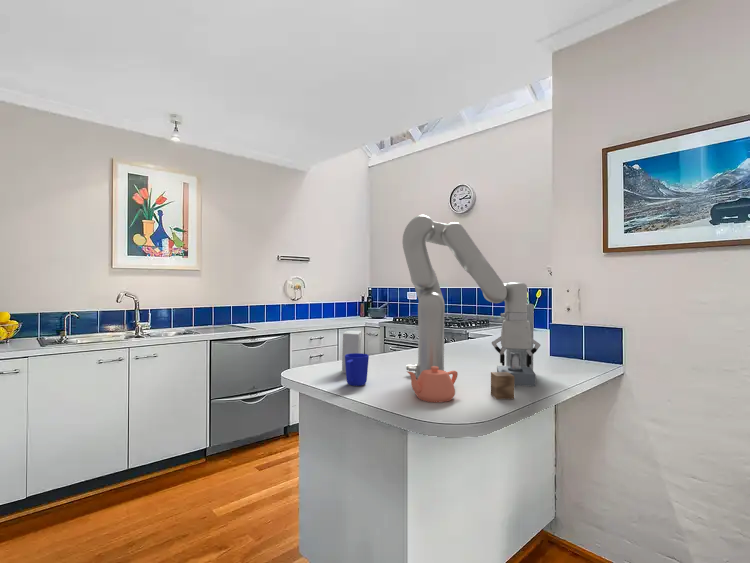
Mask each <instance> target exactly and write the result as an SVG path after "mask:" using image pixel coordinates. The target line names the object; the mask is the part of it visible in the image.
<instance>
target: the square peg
mask: <svg viewBox="0 0 750 563" xmlns="http://www.w3.org/2000/svg"><path fill="white" fill-rule="evenodd" d="M490 395H491V396H492V397H493V398H495V399H496V400H515V385H514V376H513V375H512V374H510V373H509V372H497V371H491V372H490Z"/></svg>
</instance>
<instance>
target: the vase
mask: <svg viewBox="0 0 750 563" xmlns="http://www.w3.org/2000/svg"><path fill="white" fill-rule="evenodd" d="M534 307H535V306H534V304H533V303H527V321H529V323H530V328H531V338H532V339H534V323H535V322H534V320H535V318H534V315H535V314H534V309H535V308H534ZM533 348H534V344H533V343H532V342H531V348H530V351H531V350H532V349H533ZM505 352H506V354H505V355H506V356H505V357H506V358H505V362H506V364H505V366H510V353H520V354H521V366H520V367H527V366H526V355H527V351H526V350H520V349H506V350H505ZM530 368H532V370H533V371H534V354H533V355H532V356H531V365H530Z"/></svg>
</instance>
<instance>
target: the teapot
mask: <svg viewBox="0 0 750 563" xmlns="http://www.w3.org/2000/svg"><path fill="white" fill-rule="evenodd" d="M438 369H439V367H437V366H432V367H431V369H429V370H423V371H422V372H421V374H420V375H419V377H418V379H417V378H416V376H415V374H414V373H415V372H414V371H409V370H407V371H406V372H407V373H408V374H409V376H410V384H411V389H412V390H413V391H414V394H415V395H416V397H417V398H418V399H419V400H421V401H423V402H428V403H446V402H450V401H451V400H452V399H454V397H455V395H456V389H455V388H456V387H455V383H456V382H457V379H458V375H459V374H458V371H456V370H451V371H450V370H449V371H446V370H444V371H443V370H438ZM450 375H452V377H451V376H450Z"/></svg>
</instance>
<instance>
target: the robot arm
mask: <svg viewBox="0 0 750 563" xmlns="http://www.w3.org/2000/svg"><path fill="white" fill-rule="evenodd" d="M426 243H430V244H435V245H439V246H443V247H444V246H445V247H448V248H449V250H450V251H451V253H452V254H453V256H454V257H455V258H456V261H457V262H458V263H459V265H460V267H462V269H463V270H464V271H466V272H467V273H468V274H469V275H470V276H471V278H472V279H473V280H474V281H475V283H476V285H478V288H479V289H480V290H481V292H482V295H483V297H484V299H485V300H486V301H488V303H489V302H490V303H493V304H500V303H503V302H504V312H503V313H502V312H501V313H500V318H503V319H504V320H502V325H501V330H500V336H499V337H497V338H495V339H494V340H493V341H492V342H491V345H492V346H493V348H494V349H495V351H496V352H497V353H499V363H500V364H501V366H506V364H505V362H506V358H505V357H506V356H505V355H506V354H505V352H506V349H520V350H526V351H527V355H526V366H527V367H530V365H531V356H532V355H533V356H534V354H535V353H536V352H537V351H538V350H539V348H540V347H541V343H539V342H538V341H537V340H535V339H534V338H533V339H532V338H531V328H530V323H529V321H527V304H528V286H527V284H526V283H524V282H508V283H507V282H506V283H504V282H503V281H502V279H501V277H500V276H499V275H498V274H497V271H495V269H494V268H493V267H492V266H491V264H490V263H489V261H488V260H487V258H486V257H485V256H484V254H483V253H482V252H481V250H480V248H478V246H477V245H476V243H475V242H474V240H473V239H472V238H471V236H470V235H469V233H468V231H467V230H466V229H465V227H464V226H463V225H462V224H461V223H459V222H455V221H454V222H453V221H452V222H449V223H448V224H447V223H444V222H437V221H434V220H433V219H432V218H431V217H430V216H428V215H425V214H419V215H417V216H414V217H413V218H412V219H411V220H410V221H409V222H408V223H407V224H406V227H405V228H404V231H403V234H402V248H403V254H404V256H405V257H404V258H405V260H406V265H407V268H408V271H409V276H410V281H411V283H412V285H413V287H414V289H415V294H416V295H417V299H418V304H417V318H418V319H417V321H418V324H417V330H418V331H417V334H418V338H417V340H418V343H417V346H418V347H417V348H418V351H417V353H418V354H417V357H418V359H417V363H416V364H415V365H413V364H407V365H406V368H405V369H406V370H407V371H408V372H413V373H414V374H415V376H416V380H417V379H418V377H419V375H420V374H421V372H422V371H423V370H429V369H431V367H432V366H437V367H439V369H438V370H443V371H445V313H446V312H445V310H446V309H445V307H446V305H445V299H444V296H443V293H442V290H441V287H440V284H439V280H438V276H437V273H436V271H435V269H434V268H433V265H432V263H431V259H430V256H429V252H428V249H427V245H426ZM531 342H532V343H533V345H534V346H533V349H532V350H531V351H530V348H531ZM499 343H500V345H501V348H500V347H499V346H498V345H497V344H499Z"/></svg>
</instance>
